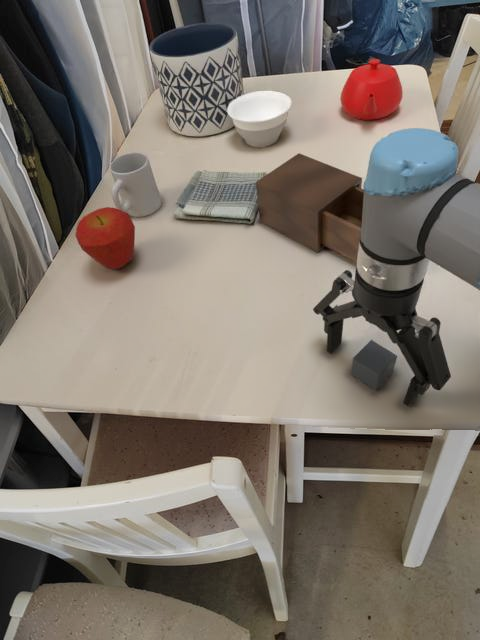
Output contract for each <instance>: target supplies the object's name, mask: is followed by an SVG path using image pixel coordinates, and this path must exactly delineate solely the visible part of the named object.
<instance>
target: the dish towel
mask: <svg viewBox="0 0 480 640" xmlns="http://www.w3.org/2000/svg"><path fill="white" fill-rule="evenodd" d="M267 174H268V172H266V171H264V172H263V171H262V172H234V171H210V170H206V169H205V170H204V169H203V170H197V171H195V173H193V176H192V177H191V179H190V181H189V182H188V184H187V185H186V187H185V188H184V190H183V191H182V193H181V195H180V196H179V198H178V199H176V202H175V204H176V205H177V206H176V209H175V210H174V213H173V215H174V218H175V219H183V220H193V221H212V222H213V221H216V222H224V223H237V224H248V225H251V224H252V223H254V221H255V219H256V216H257V212H258V211H259V208H258V199H257V190H256V182H257V181H258V180H260V179H261V178H263V177H264V176H266V175H267Z"/></svg>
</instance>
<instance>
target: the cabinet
mask: <svg viewBox="0 0 480 640" xmlns="http://www.w3.org/2000/svg"><path fill="white" fill-rule="evenodd" d="M362 183H363V177H360V176H358V175H355V174H353V173H350V172H348V171H345V170H343V169H340V168H338V167H335V166H333V165H330V164H327V163H325V162H323V161H320V160H318V159H315V158H312V157H309V156H308V155H305V154H302V153H297V154H295V155H294V156H292V157H290V158H289V159H288V160H286V161H285V162H283V163H282V164H280V165H278V166H277V167H276V168H274V169H273V170H271V171H269V172H268V173H267V175H266V176H264V177H263V178H261V179H260V180H258V181H257V182H256V190H257V199H258V215H259V222H260V223H261V224H263V225H265V226H267V227H268V228H270V229H273V230H274V231H276V232H277V233H280V234H282V235H284V236H285V237H287V238H289V239H291V240H292V241H295V242H297V243H298V244H301V245H303V246H304V247H305V248H307V249H310V250H311V251H313V252H315V253H320V252H321V251H322V250H323V249H325V248H326V246H324V245H322V244H320V239H321V213H322V212H323V211H324V210H326V209H327V208H328V207H330V206H331V205H332V204H334V203H335V202H336V201H337V200H339V199H340V198H341V197H343V196H344V195H345V194H347V193H348V192H349V191H350V190H352V189H353V188H354V187H356V186H357V187H359V188H362V185H363V184H362Z"/></svg>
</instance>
